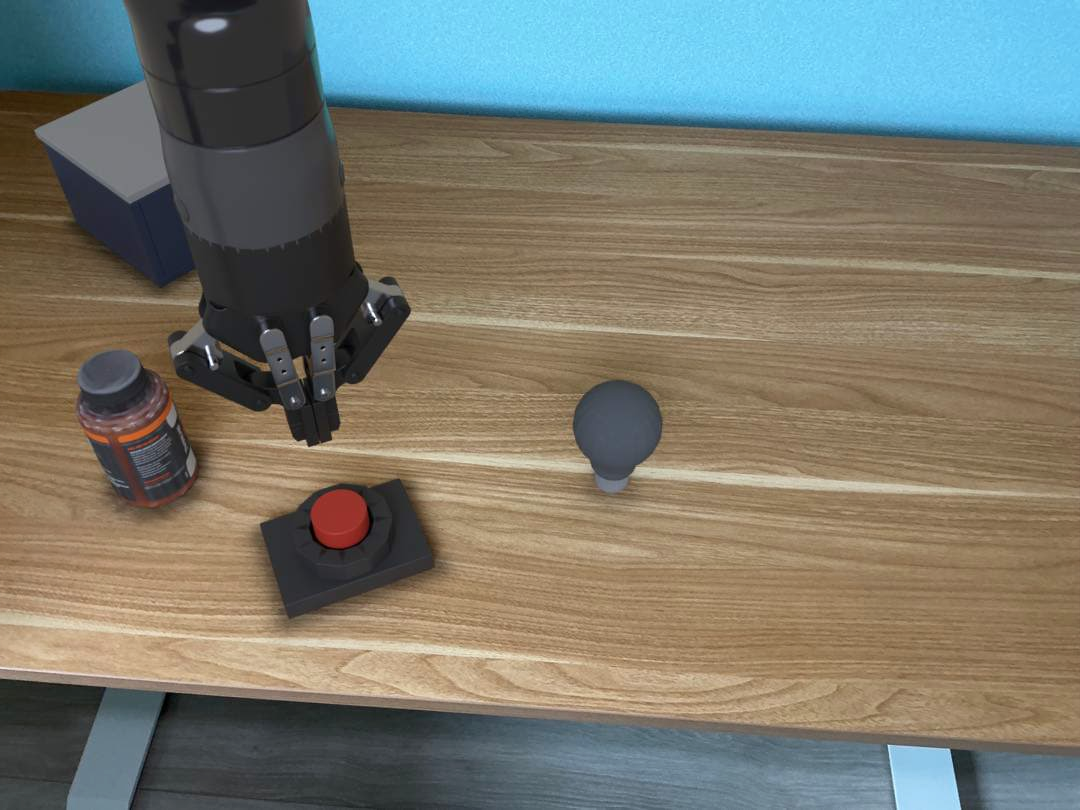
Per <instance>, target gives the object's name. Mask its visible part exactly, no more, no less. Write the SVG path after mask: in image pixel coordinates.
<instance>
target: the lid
mask: <svg viewBox="0 0 1080 810" xmlns="http://www.w3.org/2000/svg"><path fill="white" fill-rule="evenodd" d="M33 131H34V133H35V136H36V137H37V139H39V140H40V141H42V143H43V142H45V143H46V144H47V145H49V146H50V147H51V148H53V149H54V150H56V151H57V152H58V153H60V154H61V155H63V156H64V157H65V158H67V159H68V160H69V161H71V162H72V163H74V164H75V165H76V166H78V167H79V168H81V169H82V170H83V171H85V172H86V173H87V174H89V175H90V176H92V177H93V178H94V179H96V180H97V181H99V182H100V183H101V184H103V185H104V186H105V187H107V188H108V189H110V190H111V191H112V192H114V193H115V194H117V195H118V196H119V197H121V198H122V199H123V200H125V201H126V202H128V203H129V204H131V203H133V202H135V201H137V200H139V199H141V198H143V197H145V196H147V195H149V194H150V193H152V192H154V191H156V190H158V189H160V188H162V187H164V186H166V185H168V184H170V181H169V178H168V175H167V171H166V167H165V163H164V158H163V152H162V144H161V136H160V130H159V125H158V121H157V116H156V113H155V110H154V106H153V103H152V100H151V96H150V93H149V90H148V86H147V83H146V80H145V79H143V80H140V81H139V82H136V83H135V84H132V85H129V86H128V87H126V88H123V89H121V90H119V91H117V92H115V93H112V94H110V95H108V96H105V97H103V98H101V99H99V100H97V101H94V102H92V103H90V104H88V105H86V106H83V107H81V108H79V109H76V110H74V111H72V112H70V113H67V114H66V115H64V116H61V117H59V118H57V119H54V120H53V121H50V122H48V123H46V124H43V125H41V126H39V127H37V128H35V129H34V130H33Z"/></svg>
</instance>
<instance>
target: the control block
mask: <svg viewBox="0 0 1080 810" xmlns="http://www.w3.org/2000/svg"><path fill="white" fill-rule="evenodd" d="M338 489H346V490H351V491H354V492H356V493H357V494H359V495H360V496H361V497H362V498H363V499H364V501H365V503H366V506H367V511H368V516H369V522H370V523H369V529H368V532H367V534H366V535H365V537H364V538H363V539H362V540H361V541H360V542H358V543H357V544H355V545H353V546H351V547H348V548H343V549H335V548H330V547H327V546H325V545H324V544H322V543H321V542H320V541H319V540H318V539H317V537H316V535H315V531H314V528H313V524H312V520H311V510H312V507H313V505H314V503H315V502H316V500H317V499H318V498H319V497H321V496H322V495H324V494H325V493H327V492H330V491H333V490H338ZM259 528H260V530H261V534H262V537H263V540H264V544H265V547H266V551H267V553H268V557H269V561H270V563H271V567H272V570H273V574H274V577H275V580H276V583H277V587H278V591H279V593H280V598H281V599H282V604H283V607H284V610H285V613H286V615H287V618H288V619H289V620H291V619H294V618H297V617H301V616H303V615H305V614H308V613H311V612H313V611H317V610H320V609H322V608H326V607H328V606H331V605H334V604H336V603H340V602H342V601H345V600H348V599H351V598H353V597H357V596H359V595H362V594H364V593H367V592H370V591H373V590H376V589H378V588H382V587H384V586H387V585H390V584H394V583H395V582H400V581H401V580H404V579H407V578H410V577H412V576H416V575H418V574H421V573H423V572H427V571H430V570H433V569H434V568H435V561H434V554H433V552H432V549H431V547H430V545H429V542H428V539H427V538H426V535H425V532H424V530H423V528H422V526H421V523H420V521H419V519H418V516H417V515H416V512H415V509H414V507H413V505H412V502H411V500H410V498H409V495H408V493H407V491H406V488H405V486H404V484H403V482H402V479H401V478H400V477H397V478H395V479H391V480H389V481H385V482H382V483H379V484H376V485H373V486H367V485H365V484H355V483H345V482H341V483H336V484H333V485H330V486H327V487H325V488H321V489H318V490H316V491H314V492H313V493H312V494H311V495H309V497H307V498H306V499H305V500H304V501H303V502H302V503H300V504H299V505H298V506H297V507H296V510H295V511H293V512H290V513H287V514H283V515H282V516H277V517H275V518H271V519H269V520H268V519H267V520H265V521H263V522H260V523H259Z"/></svg>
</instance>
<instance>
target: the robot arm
mask: <svg viewBox="0 0 1080 810" xmlns="http://www.w3.org/2000/svg"><path fill="white" fill-rule="evenodd" d="M121 2H122V4H123V6H124V9H125V11H126V14H127V17H128V20H129V23H130V28H131V32H132V37H133V41H134V45H135V49H136V52H137V56H138V57H137V58H138V61H139V62H140V66H141V69H142V73H143V76H144V80H146V83H147V86H148V90H149V93H150V96H151V100H152V103H153V106H154V110H155V113H156V116H157V121H158V125H159V130H160V136H161V144H162V152H163V158H164V163H165V167H166V171H167V175H168V178H169V181H170V185H171V188H172V191H173V194H174V196H173V197H174V204H175V207H176V209H177V212H178V213H179V215H180V218H181V221H182V224H183V227H184V231H185V234H186V237H187V240H188V244H189V247H190V250H191V254H192V257H193V260H194V263H195V267H196V268H195V269H196V273H197V277H198V280H199V283H200V286H201V289H202V292H201V298H200V299H199V302H198V305H197V306H198V307H197V310H198V315H199V317H200V319H199V320H198V321H197V322H196V323H195V324H194V325H193V326H192V327H191V328H190V329H189V330H187V331H186V330H181V329H180V330H175V331H173V332H171V333H170V334H169V335H168V337H167V344H168V348H169V353H170V354H169V355H170V357H171V361H172V364H173V367H174V370H175V375H176V376H177V377H178V378H179V379H181V380H184V381H186V382H188V383H191V384H193V385H195V386H196V387H199V388H201V389H204V390H206V391H209V392H211V393H213V394H214V395H217V396H219V397H221V398H224V399H226V400H229V401H230V402H232V403H235V404H236V405H240V406H242V407H244V408H246V409H248V410H250V411H252V412H256V413H261V412H265V411H266V410H268V409H269V408H271V407H272V405H278V406H282V407H283V411H284V415H285V419H286V422H287V425H288V428H289V430H290V434H291V436H292V438H293V439H294V440H295V441H296V442H297V443H299V442H302V441H305V442H306V443H305V444H306V445H307V448H312V447H314V446H318V445H320V444H325V443H329V442H331V441H333V435H332V433H333V432H335V431H339V430H340V426H341V423H342V422H341V417H340V412H339V408H338V403H337V396H336V393H337V391H338V389H339V388H340V387H341V386H343V385H345V384H348V385H358V384H360V383H361V382H362V381H364V380H365V378H366V377H367V375H368V374H369V373H370V371H371V370H372V368H373V367H374V366H375V364H376V363H377V361H378V360H379V359H380V357H381V356H382V355H383V353H384V352H385V350H386V349H387V348H388V346H389V344H390V343H391V342H392V340H393V339H394V338H395V336H397V333H399V331H400V329H401V328H402V327H403V325H404V324H405V323H406V321H407V319H408V318H409V317H410V315H411V314H412V313H411V312H412V309H411V306H410V305H409V302H408V300H407V299H406V296H405V294H404V292H403V290H402V288H401V286H400V285H399V283H398V281H397V279H396V278H395V277H394V276H389V275H387V276H383V277H381V278H380V279H379V280H375V279H371V278H369V277H367V276H366V275H365V274H364V269H363V267H362V266H361V264H360V263H359V262H358V261H357V260H356V258H355V257H356V256H355V251H354V244H353V237H352V232H351V231H352V230H351V225H350V217H349V211H348V204H347V198H346V196H347V195H346V191H345V181H346V175H345V167H344V163H343V162H342V160H341V159H342V158H341V157H340V152H339V151H340V150H339V145H338V140H337V135H336V131H335V128H334V125H333V122H332V121H333V120H332V119H331V116H330V112H329V108H328V105H327V101H326V95H325V92H324V91H325V90H324V85H323V77H322V72H321V71H322V70H321V65H320V64H321V63H320V59H319V51H318V46H317V40H316V33H315V28H314V23H313V18H312V13H311V9H310V8H311V7H310V4H309V1H308V0H121ZM221 344H223V345H225V346H227V347H229V348H230V349H233V350H234V351H236V352H237V353H240V354H241V355H243V356H245V357H247V358H248V359H250V360H252V361H254V362H257V363H260V364H268V366H269V369H270V370H262V369H261V368H260V367H259V366H257V365H255V364H253V363H252V362H249V361H247V360H245V359H243V358H241V357H239V356H237V355H235V354H234V353H231V352H229V351H227V350H225V349H222V347H221ZM300 357H301V362H302V368H303V371H304V374H305V377H302V378H300V376H299V374H298V372H297V370H296V366H295V364H294V361H295V360H296V359H298V358H300Z"/></svg>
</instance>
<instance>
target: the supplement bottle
mask: <svg viewBox="0 0 1080 810" xmlns="http://www.w3.org/2000/svg"><path fill="white" fill-rule="evenodd" d="M76 382H77V385H78V388H79V389H80V392H79V394H78V397H77V398H76V401H75V414H76V417H77V420H78V423H79V425H80V427H81V429H82V431H83V433H84V435H85V437H86V439H87V441H88V443H89V445H90V446H91V448H92V450H93V453H94V454H95V456H96V458H97V460H98V462H99V464H100V465H101V468H102V469H103V472H104V473H105V475H106V477H107V479H108V482H109V484H110V485H111V487H112V488H113V491H114V492H115V493H116V495H117V496H118V497H119V498H120V499H121V500H122V501H123V502H124V503H126V504H128V505H130V506H133V507H136V508H145V509H149V508H159V507H161V506H164V505H165V506H166V505H168V504H171V503H172V502H174V501H176V500H178V499H179V498H181V497H182V496H183V495H184V494H185V493H187V491H189V490H190V488H191V487H192V486H193V484H194V482H195V480H196V477H197V475H198V468H199V467H198V461H197V458H196V453H195V451H194V448H193V446H192V444H191V441H190V439H189V436H188V434H187V432H186V429H185V427H184V424H183V422H182V419H181V417H180V414H179V411H178V409H177V407H176V404H175V401H174V399H173V396H172V394H171V391H170V388H169V387H168V385H167V383H166V381H165V380H164V379H163V377H162V376H161V375H160V374H158V373H157V372H156V371H153V370H152V369H149V368H147V367H144V365H143V364H142V362H141V360H140V358H139V356H137V355H136V354H135V353H134V352H132V351H129V350H126V349H119V348H118V349H117V348H116V349H107V350H104V351H100V352H98V353H96V354H94V355H93V356H91V357H89V358H88V359H86V360H85V361H84V362H83V363H82V365H80V367H79V369H78V370H77V373H76Z"/></svg>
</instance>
